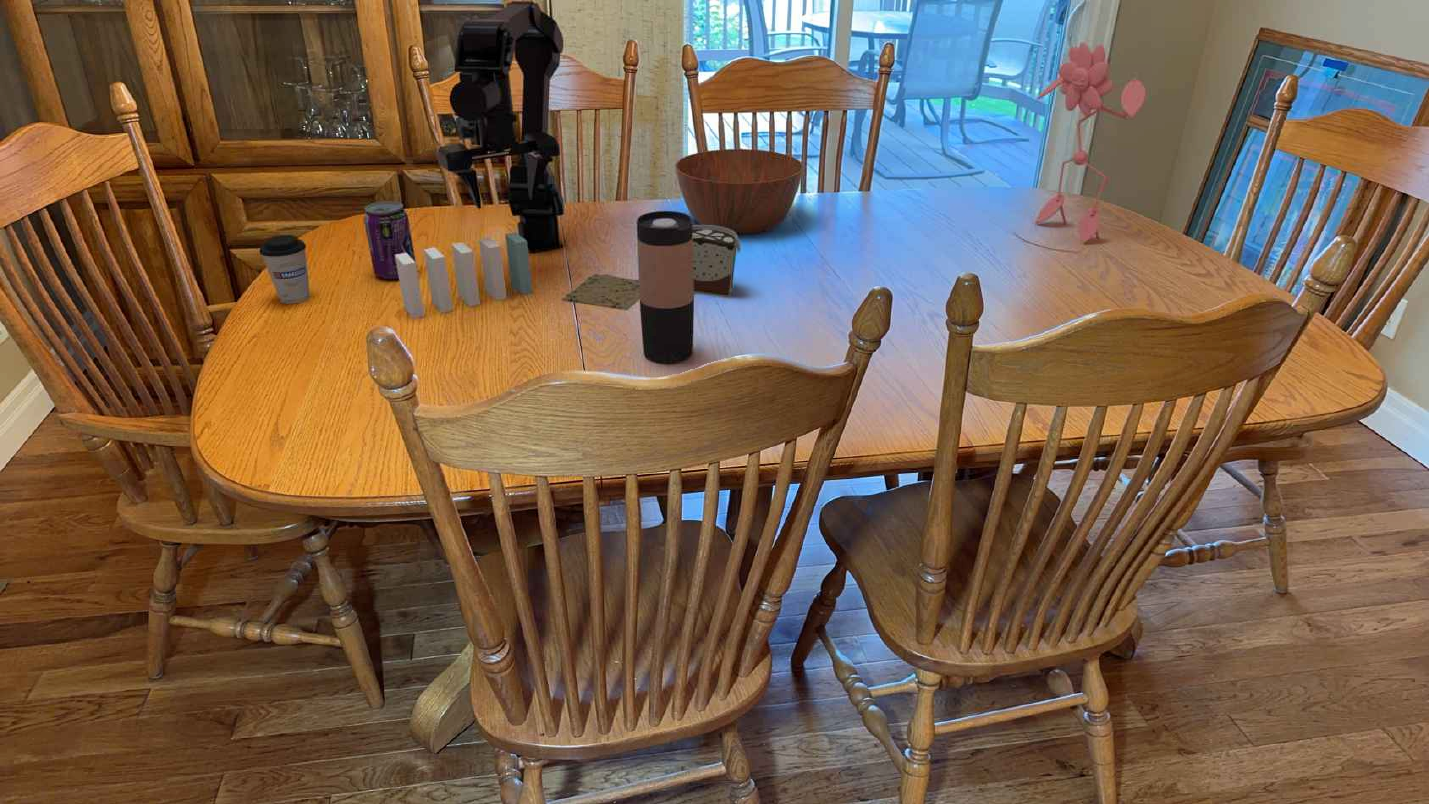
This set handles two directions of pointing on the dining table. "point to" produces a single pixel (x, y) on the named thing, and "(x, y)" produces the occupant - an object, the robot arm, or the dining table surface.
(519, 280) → the domino
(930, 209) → the dining table surface
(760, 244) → the dining table surface
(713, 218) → the bowl
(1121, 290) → the dining table surface
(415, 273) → the domino
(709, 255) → the food container
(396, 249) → the beverage can
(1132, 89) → the figurine
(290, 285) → the coffee cup
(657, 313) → the travel mug
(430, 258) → the domino
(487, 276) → the domino
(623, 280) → the speckled square tile
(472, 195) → the robot arm
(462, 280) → the domino
